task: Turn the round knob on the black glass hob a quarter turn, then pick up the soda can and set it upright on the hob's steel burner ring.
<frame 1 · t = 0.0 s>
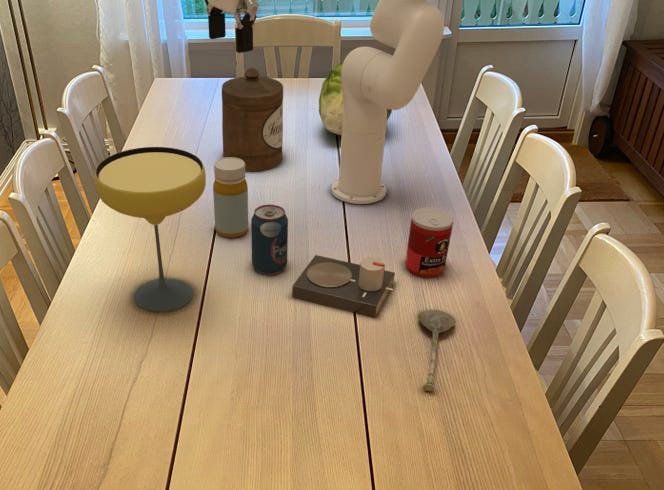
hand: (230, 44, 129), 37 cm above the table, tool pointing down, fingers open, 9 cm apart
hob knob: (371, 273, 130), point 5 cm above the table, hinge at 0.0°
canned food: (424, 268, 141), on the table
wooden container: (252, 160, 180), on the table
soupspoon: (432, 351, 121), on the table
burner ring: (329, 275, 134), resting on hob
hob: (343, 290, 135), on the table
cocktail glass: (163, 296, 133), on the table
soda can: (269, 267, 141), on the table
lettuce: (352, 135, 193), on the table
bottle: (231, 231, 152), on the table
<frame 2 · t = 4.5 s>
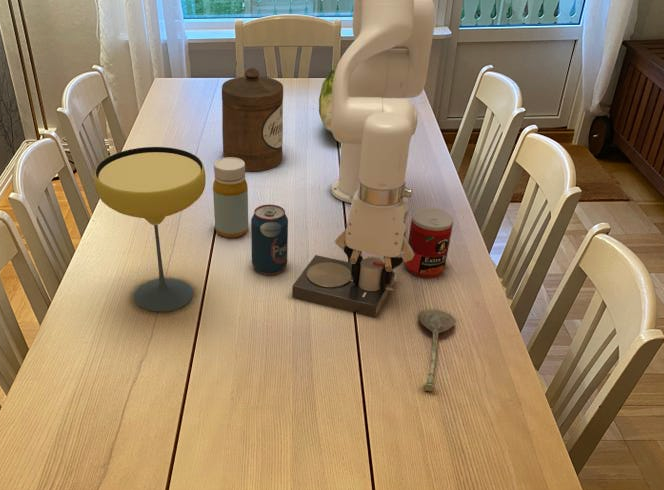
hand: (370, 281, 131), 3 cm above the table, tool pointing down, fingers closed on hob knob, 4 cm apart
hob knob: (371, 273, 130), point 5 cm above the table, hinge at 0.0°, touching gripper
everything else where it was.
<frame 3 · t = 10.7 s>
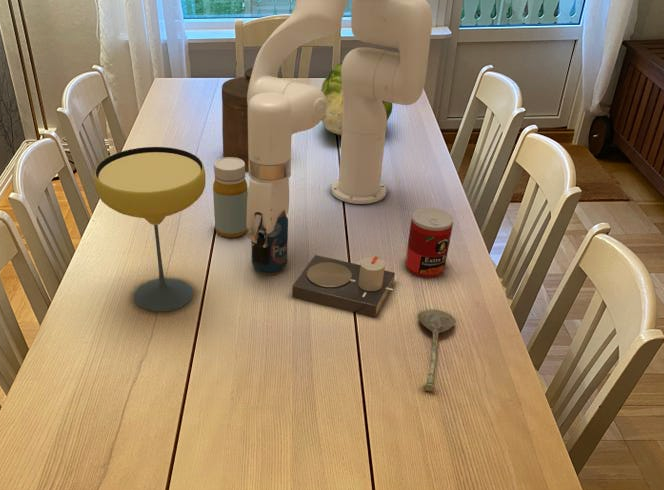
hand: (269, 252, 139), 3 cm above the table, tool pointing down, fingers closed on soda can, 7 cm apart
hob knob: (371, 273, 130), point 5 cm above the table, hinge at 90.2°
soda can: (269, 267, 141), on the table, touching gripper
everything else where it was.
when the fingers open (6 cm above the table, at t = 17.6 s): soda can stays where it is, resting on burner ring.
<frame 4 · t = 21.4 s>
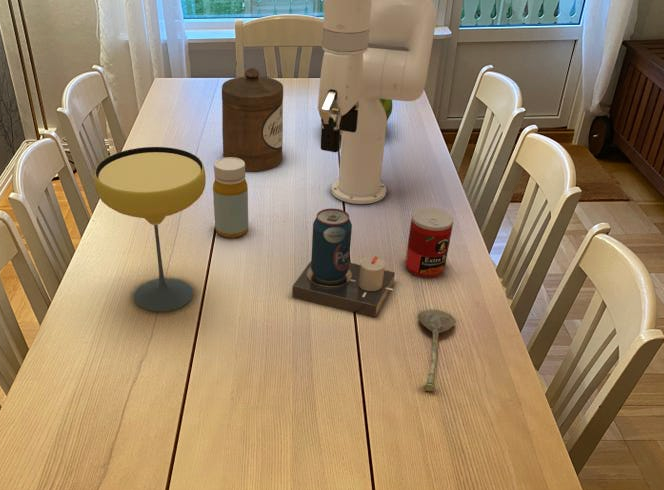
hand: (338, 140, 128), 24 cm above the table, tool pointing down, fingers open, 9 cm apart
soda can: (329, 274, 134), point 3 cm above the table, touching burner ring
everything else where it was.
at the end: hob knob at +90° (first picture: +0°); soda can 0.1 cm off-centre on the burner ring, point 0.1 cm above the burner ring's base; soda can tilted 0° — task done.
